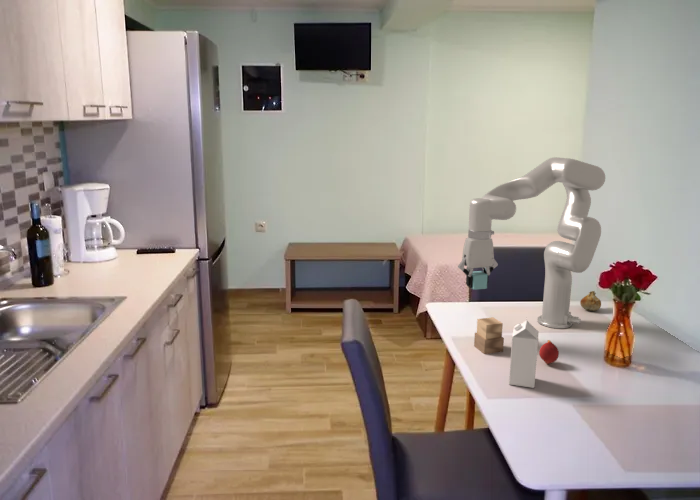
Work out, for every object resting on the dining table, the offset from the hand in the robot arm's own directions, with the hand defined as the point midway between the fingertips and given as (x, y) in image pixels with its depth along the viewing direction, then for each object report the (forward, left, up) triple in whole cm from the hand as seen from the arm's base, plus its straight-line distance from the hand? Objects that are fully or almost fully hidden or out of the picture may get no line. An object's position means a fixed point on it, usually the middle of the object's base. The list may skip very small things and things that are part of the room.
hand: (477, 285), depth 195 cm
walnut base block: (-8, +7, -19) cm, 22 cm away
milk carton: (-25, +25, -20) cm, 40 cm away
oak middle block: (-8, +7, -14) cm, 18 cm away
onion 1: (-28, +8, -20) cm, 35 cm away
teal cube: (0, 0, -1) cm, 1 cm away
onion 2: (-28, -54, -20) cm, 64 cm away
